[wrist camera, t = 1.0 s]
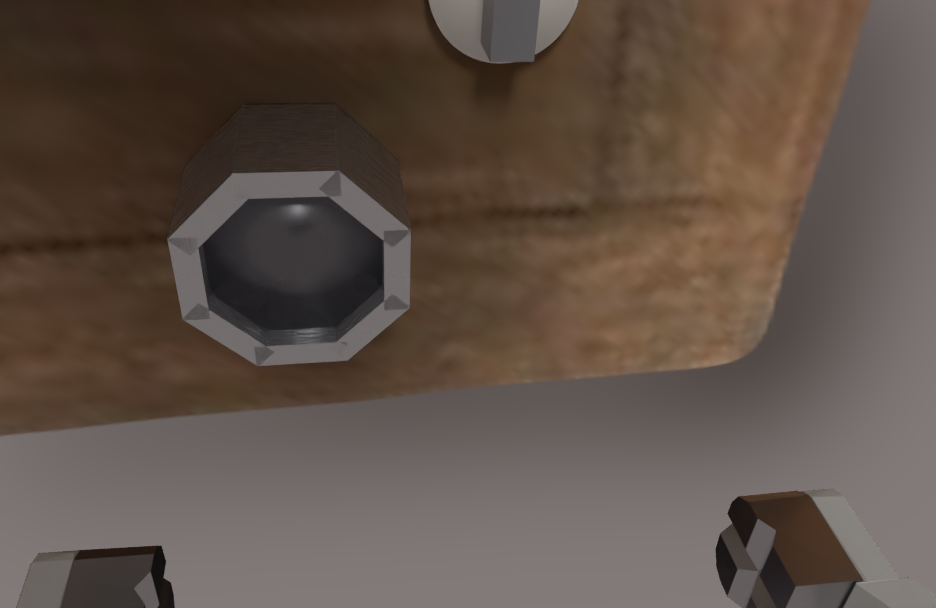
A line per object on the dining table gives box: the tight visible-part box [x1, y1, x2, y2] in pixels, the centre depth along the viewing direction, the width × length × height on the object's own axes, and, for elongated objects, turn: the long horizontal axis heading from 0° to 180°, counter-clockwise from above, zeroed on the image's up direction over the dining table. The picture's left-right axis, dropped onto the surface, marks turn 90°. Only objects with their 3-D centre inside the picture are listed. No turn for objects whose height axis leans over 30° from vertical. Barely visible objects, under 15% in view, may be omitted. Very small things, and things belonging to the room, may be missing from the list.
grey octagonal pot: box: [167, 103, 411, 366], centre depth 40 cm, size 10×10×7 cm
